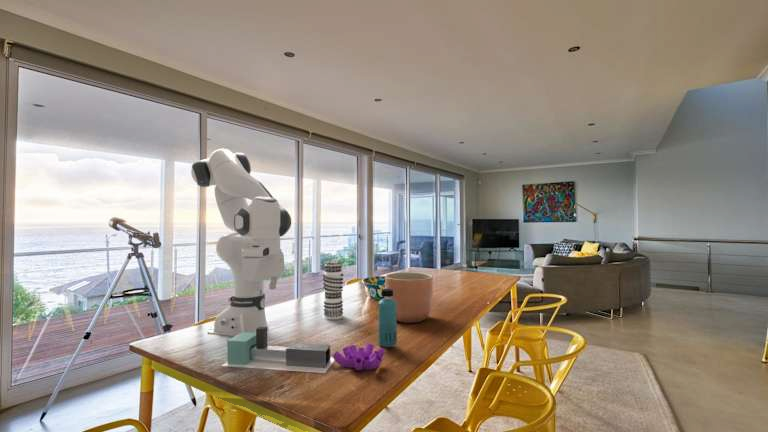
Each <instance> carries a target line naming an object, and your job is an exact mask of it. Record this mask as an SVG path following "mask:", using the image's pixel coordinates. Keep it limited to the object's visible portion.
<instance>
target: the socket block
mask: <svg viewBox="0 0 768 432" xmlns="http://www.w3.org/2000/svg"><path fill="white" fill-rule="evenodd" d="M226 345H227V347H226V348H227V354H226V355H227V360H226V362H227V363H228V364H237V365H247V364H248V363H249V362H251V361H252V360H253V359H251V358H250V347H252V346H253V345H256V333H251V332H241V333H240V334H238V335H236V336H232V337H231V338H229V339H228V340H227V343H226Z"/></svg>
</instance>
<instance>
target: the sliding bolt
mask: <svg viewBox="0 0 768 432" xmlns="http://www.w3.org/2000/svg"><path fill="white" fill-rule="evenodd" d="M287 347H288V346H277V345H276V346H275V345H268V330H267V327H261V326H260V327H258V328H257V329H256V345H253V346H252V347H250V358H251V359H266V360H282V361H286V348H287Z"/></svg>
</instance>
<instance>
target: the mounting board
mask: <svg viewBox="0 0 768 432" xmlns="http://www.w3.org/2000/svg"><path fill="white" fill-rule="evenodd" d="M334 362H335V360H334V358H333V356H332V357H331V356H330V362H329V364H328V365H327V366H326V368H315V367H300V366H286V361H282V360H266V359H253V360H252V361H251V362H249V363H248V364H247V365H237V364H228V363H227V361H226V362H225V363H223V364H221V366H222V367H232V368H244V369H245V368H247V369H260V370H262V369H264V370H276V371H291V372H303V373H305V372H306V373H319V374H326V372H327V371H328V370H329V368H330V367H332V364H333V363H334Z"/></svg>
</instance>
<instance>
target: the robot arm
mask: <svg viewBox="0 0 768 432" xmlns="http://www.w3.org/2000/svg"><path fill="white" fill-rule="evenodd" d="M251 170H252V165H251V162H250V160H249V158H248V157H247V155H246V154H245V153H243V152H232V151H230V150H229V149H226V148H219V149H217V150H215V151H212V153H211V154H210V156H209V158H206V159H199V160H197V161H195V162H194V163H193V164H192V165H191V170H190V171H191V177H192V180H193V182H194V183H196V185H197V186H199V187H201V188H202V187H203V188H209V187H212V186H215V187H214V198H215V202H216V206H217V208H218V212H219V213H220V215H221V216H220V217H221V218H222V222H223V224H224V226H225V227H226V228H228V229H229V230H230V231H233V232H232V233H229V234H225V235H222V236H221V237H219V239H218V240H217V243H216V245H215V247H216V248H215V249H216V254H217V256H218V257H219V259H221V261H223V262H224V263H225V264H227V266H228V267H229V269H230V271H231V274H232V277H233V289H234V290H233V293H234V294H233V295H232V296H231V297H230V298H228V300H227V302H228V303H229V302H230V304H229V305H228V306H227V307H226V308H225V309H224V310H222V311H221V312H220V313H218V314H217V315H216V317H215V318H214V324H213V326H212V327H211V328H209V329H208V330H207V335H211V336H212V335H214V336H215V335H216V336H230V337H231V336H232V337H234V336H236V335H238V334H240V333H241V332H251V333H256V329H257V328H258V327H260V326H261V327H267V331H268V330H269V325H268V321H267V318H266V317H267V316H266V310H265V309H266V294H265V280H267V279H270V283H269V284H268V289H269V290H270V291H274V290H276V289H277V283H278V280H279V275H281V274H283V273H284V272H285V270H286V269H285V255H284V252H283V251H282V249H281V237H284V236H285V235H286V234H287V233H288V232H289V230H290V229H291V226H292V218H291V215H290V213H289V212H288V211H287V209H286V208H285V207H284V206H282V205H280V204H279V201H278V200H277V199H276V198H275V197H274V196H273V195H272V194H271V193H270V191H269V190H268V189H267V188H266V187H265V185H264V184H263V183H262V182H260V181H259V180H258V179H256V178H255V177H254V176H252V175H251ZM247 200H251V203H250V204H248V202H247Z"/></svg>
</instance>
